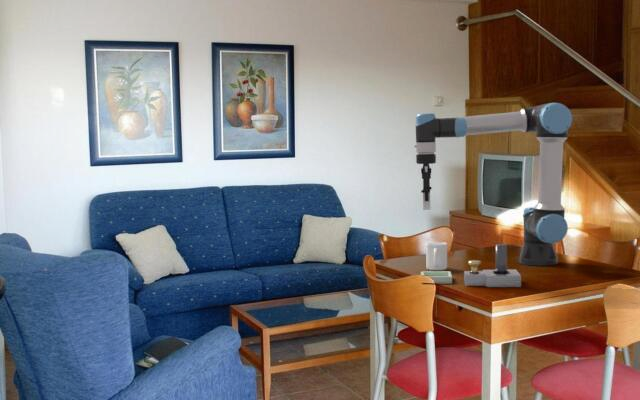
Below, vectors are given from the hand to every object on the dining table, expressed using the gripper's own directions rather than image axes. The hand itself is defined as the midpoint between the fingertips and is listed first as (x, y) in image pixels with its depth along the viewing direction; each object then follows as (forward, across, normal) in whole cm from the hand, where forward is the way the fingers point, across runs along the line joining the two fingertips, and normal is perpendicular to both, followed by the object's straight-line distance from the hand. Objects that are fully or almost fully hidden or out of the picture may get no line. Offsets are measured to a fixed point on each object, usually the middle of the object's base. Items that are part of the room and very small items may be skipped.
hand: (426, 207), depth 298 cm
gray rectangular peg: (+26, +23, +26) cm, 43 cm away
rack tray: (+26, +17, +3) cm, 31 cm away
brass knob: (+22, +23, +17) cm, 36 cm away
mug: (+26, -6, +3) cm, 27 cm away
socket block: (+26, +23, +23) cm, 41 cm away
